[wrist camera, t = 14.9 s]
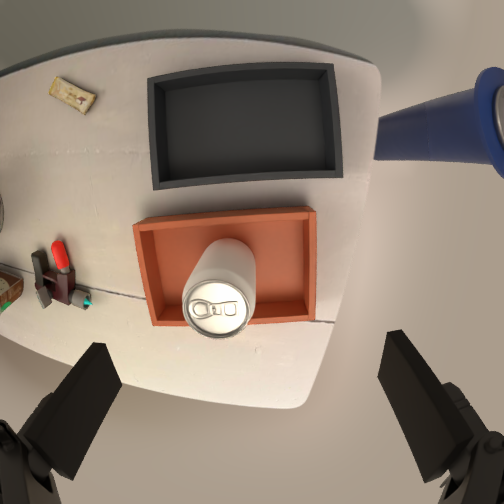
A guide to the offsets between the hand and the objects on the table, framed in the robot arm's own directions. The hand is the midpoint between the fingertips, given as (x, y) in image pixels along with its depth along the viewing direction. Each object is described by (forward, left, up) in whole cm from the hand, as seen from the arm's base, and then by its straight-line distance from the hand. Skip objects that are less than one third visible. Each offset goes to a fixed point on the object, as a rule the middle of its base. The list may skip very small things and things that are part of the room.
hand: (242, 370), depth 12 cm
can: (+3, +3, -23) cm, 23 cm away
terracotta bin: (+3, +3, -23) cm, 23 cm away
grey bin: (0, -13, -23) cm, 26 cm away
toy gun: (+28, +3, -23) cm, 36 cm away
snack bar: (+23, -22, -23) cm, 39 cm away
